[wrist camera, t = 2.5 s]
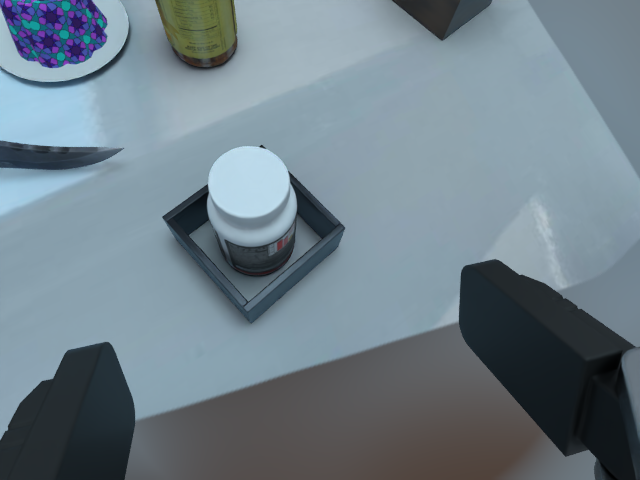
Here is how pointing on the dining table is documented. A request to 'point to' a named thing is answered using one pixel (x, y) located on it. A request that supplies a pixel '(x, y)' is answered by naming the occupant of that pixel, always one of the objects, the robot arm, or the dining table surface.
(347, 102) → the dining table surface
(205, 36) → the sauce bottle
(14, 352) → the dining table surface
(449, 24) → the pedestal
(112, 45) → the pudding
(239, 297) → the holder
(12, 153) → the knife
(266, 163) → the pill bottle
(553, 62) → the dining table surface
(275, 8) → the dining table surface
